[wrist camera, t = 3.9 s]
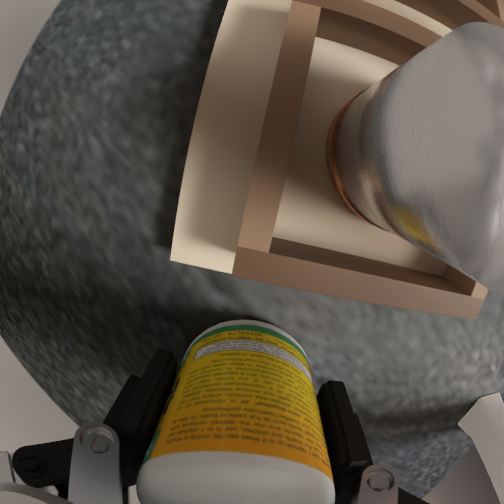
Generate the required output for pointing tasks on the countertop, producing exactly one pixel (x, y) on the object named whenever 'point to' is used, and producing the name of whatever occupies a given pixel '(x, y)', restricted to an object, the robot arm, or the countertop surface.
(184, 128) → the countertop surface
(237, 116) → the socket board
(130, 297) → the countertop surface
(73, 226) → the countertop surface
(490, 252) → the silver cylinder
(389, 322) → the countertop surface
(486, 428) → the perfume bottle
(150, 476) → the supplement bottle
